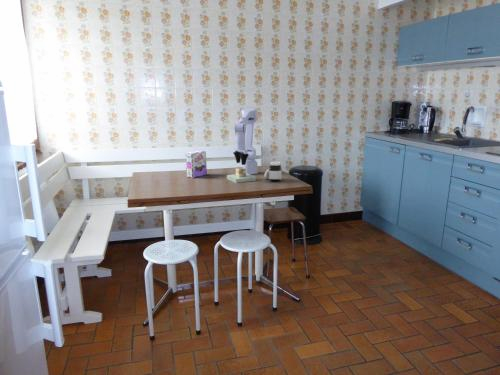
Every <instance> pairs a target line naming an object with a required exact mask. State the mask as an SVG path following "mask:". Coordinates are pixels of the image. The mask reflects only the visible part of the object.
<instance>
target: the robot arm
mask: <svg viewBox="0 0 500 375" xmlns="http://www.w3.org/2000/svg"><path fill="white" fill-rule="evenodd" d="M257 120H258V111H257V108H242V109H241V117H240V118H239V119H238V121H237V123H235V124H234V134H235V147H234V148H233V149H234V151H233V152H232V153H233V155H234V158H235V162H236V164H240V163H241V165H242V167H243V168H246V173H247V174H250V175H255V174H259V172H258V162H257V160H256V158H257V151H256V150H257V149H256V148H254V146H253V141H254V140H253V137H254V126H255V123H257Z"/></svg>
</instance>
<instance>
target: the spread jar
mask: <svg viewBox="0 0 500 375" xmlns="http://www.w3.org/2000/svg"><path fill="white" fill-rule="evenodd" d="M281 164H282V162H281V161H270V162H269V167H268V168H267V169H266V170H265V172H264V174H263V177H264V179H266V180H268V179H269V181H270V182H274V183H275V182H277V183H278V182H281V181H282V173H283V172H282V165H281Z"/></svg>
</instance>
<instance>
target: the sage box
mask: <svg viewBox="0 0 500 375" xmlns="http://www.w3.org/2000/svg"><path fill="white" fill-rule="evenodd" d="M226 180H229V181H230V182H233V183H235V184H239V183H247V182H256V181H257V177H256V176H255V175H253V174H247V173H246V176H245V177H237V176H236V173H234V174H226Z"/></svg>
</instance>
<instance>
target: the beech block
mask: <svg viewBox="0 0 500 375" xmlns="http://www.w3.org/2000/svg"><path fill="white" fill-rule="evenodd" d="M235 174H236V176H237V177H245V176H246V168H243V166H242V167H236V168H235Z"/></svg>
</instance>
